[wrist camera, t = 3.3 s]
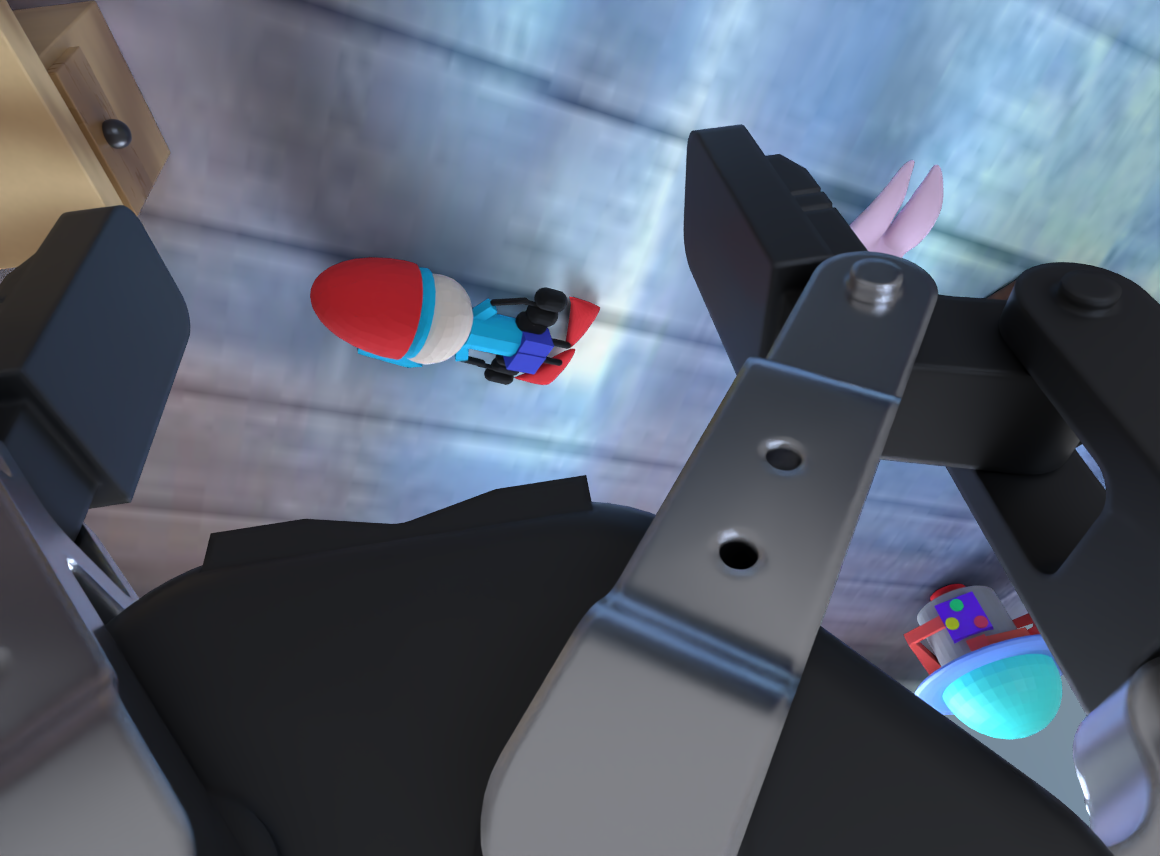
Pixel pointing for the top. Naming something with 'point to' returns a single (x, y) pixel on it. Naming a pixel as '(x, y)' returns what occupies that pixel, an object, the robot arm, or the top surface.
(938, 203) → the rabbit figure
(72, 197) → the small desk
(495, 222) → the top surface
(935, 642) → the toy robot
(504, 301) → the toy figure
